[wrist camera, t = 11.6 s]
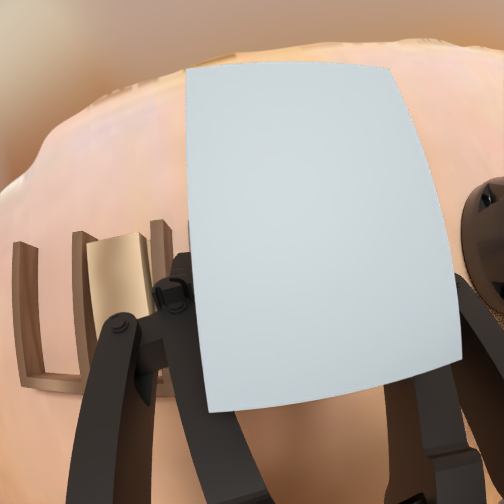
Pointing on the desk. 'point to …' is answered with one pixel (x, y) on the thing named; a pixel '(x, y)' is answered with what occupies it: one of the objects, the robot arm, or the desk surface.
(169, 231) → the rack
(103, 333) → the robot arm
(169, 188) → the desk surface
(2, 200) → the desk surface
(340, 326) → the pale blue thick slab
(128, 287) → the offcut top
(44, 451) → the desk surface
